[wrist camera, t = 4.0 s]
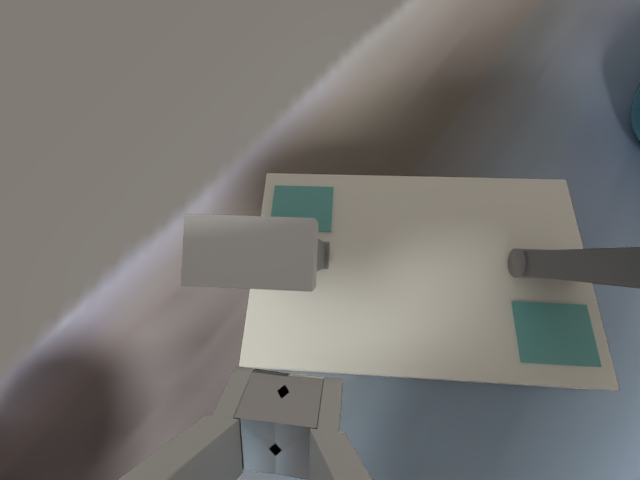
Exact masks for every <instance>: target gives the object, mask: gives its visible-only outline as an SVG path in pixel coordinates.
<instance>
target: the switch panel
mask: <svg viewBox="0 0 640 480" xmlns="http://www.w3.org/2000/svg"><path fill="white" fill-rule="evenodd" d="M261 216H265V217H298V218H315V219H316V220H317V221H318V223H319V226H318V239H320V240H321V241H324V242H330V257H329V269H321V270H319V271H317V277H316V288H315V289H314V290H313V291H312V292H305V291H284V290H263V289H250V294H249V301H248V308H247V315H246V322H245V329H244V336H243V343H242V349H241V356H240V363H239V366H242V367H248V368H259V369H274V370H290V371H305V372H321V373H336V374H352V375H367V376H383V377H398V378H414V379H429V380H444V381H460V382H475V383H491V384H506V385H522V386H537V387H553V388H568V389H584V390H615V391H620V390H619V386H618V382H617V378H616V374H615V370H614V366H613V362H612V358H611V354H610V350H609V346H608V343H607V339H606V335H605V331H604V327H603V323H602V319H601V315H600V311H599V307H598V303H597V299H596V295H595V292H594V288H593V284H592V283H587V282H577V281H568V280H559V279H542V278H518V277H512V276H511V274H510V272H509V270H508V257H509V254H510V252H511V250H512V249H515V248H516V249H544V250H565V249H584V248H583V244H582V240H581V237H580V233H579V229H578V225H577V221H576V217H575V213H574V209H573V205H572V201H571V197H570V193H569V189H568V186H567V182H566V180H564V179H517V178H470V177H423V176H376V175H329V174H282V173H267V175H266V182H265V189H264V196H263V203H262V210H261Z"/></svg>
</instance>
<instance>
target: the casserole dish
mask: <svg viewBox="0 0 640 480" xmlns="http://www.w3.org/2000/svg"><path fill="white" fill-rule="evenodd" d="M631 123H632V127H633V130H634V132H635V134H636V136H637V138H638V139H639V141H640V84H639V86H638V88H637V91H636V94H635V97H634V100H633V104H632V109H631Z"/></svg>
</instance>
